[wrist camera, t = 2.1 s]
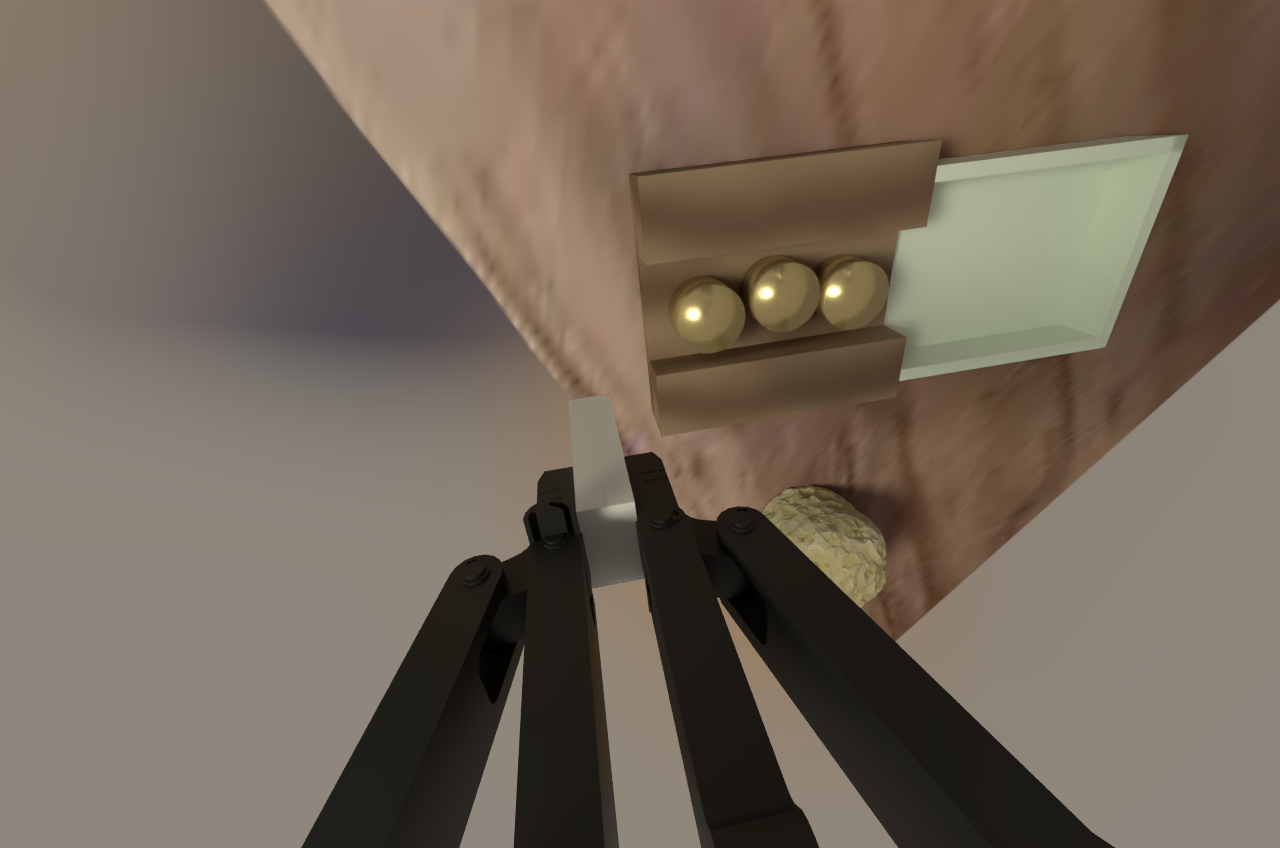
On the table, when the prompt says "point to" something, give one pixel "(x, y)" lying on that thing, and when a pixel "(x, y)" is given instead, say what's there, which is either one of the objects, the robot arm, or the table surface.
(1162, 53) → the table surface
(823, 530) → the decorative object
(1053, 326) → the tray
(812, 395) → the slot board
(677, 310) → the chip
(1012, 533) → the table surface
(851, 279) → the chip
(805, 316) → the chip
